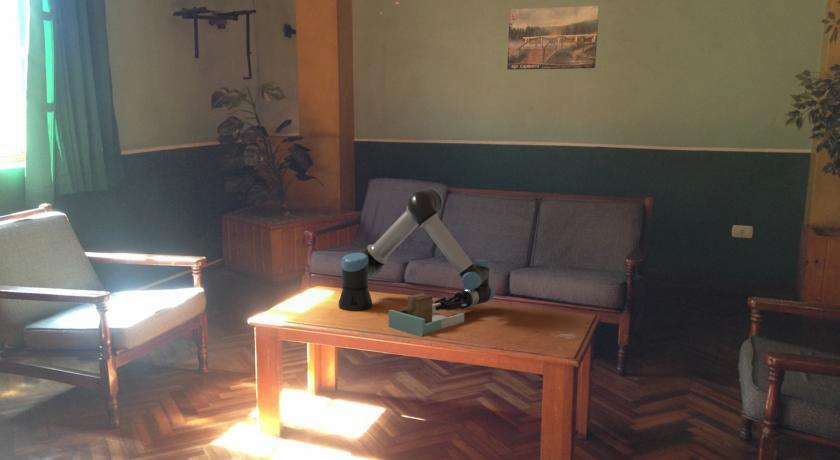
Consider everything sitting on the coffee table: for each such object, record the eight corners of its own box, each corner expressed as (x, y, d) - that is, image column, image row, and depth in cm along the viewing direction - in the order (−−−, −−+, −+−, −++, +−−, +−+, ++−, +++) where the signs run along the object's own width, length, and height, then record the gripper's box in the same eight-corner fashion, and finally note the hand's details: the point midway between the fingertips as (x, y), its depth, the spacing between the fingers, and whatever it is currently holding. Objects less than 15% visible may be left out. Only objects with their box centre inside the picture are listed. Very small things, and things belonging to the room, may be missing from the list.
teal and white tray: (388, 326, 292) (388, 310, 291) (430, 314, 310) (430, 299, 309) (422, 337, 279) (422, 319, 278) (464, 323, 297) (464, 307, 296)
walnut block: (407, 325, 291) (407, 296, 289) (422, 321, 297) (422, 293, 295) (417, 328, 287) (417, 299, 285) (432, 324, 292) (432, 295, 291)
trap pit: (390, 320, 302) (390, 313, 301) (405, 316, 308) (405, 309, 308) (400, 323, 297) (400, 316, 297) (416, 319, 304) (416, 312, 303)
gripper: (477, 310, 306) (440, 321, 290) (454, 304, 315) (417, 315, 298) (477, 293, 305) (440, 303, 288) (454, 287, 314) (417, 297, 297)
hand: (428, 309), depth 293 cm, fingers closed
